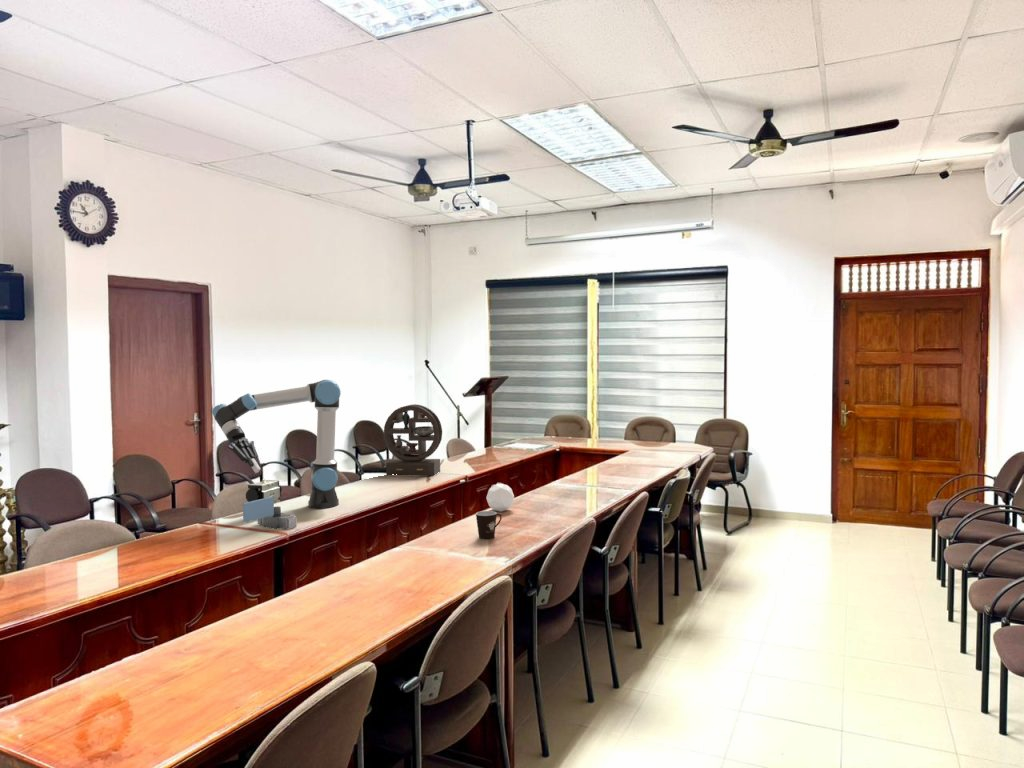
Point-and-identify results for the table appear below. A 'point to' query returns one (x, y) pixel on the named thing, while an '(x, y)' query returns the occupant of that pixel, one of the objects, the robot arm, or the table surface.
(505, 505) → the geodesic sphere
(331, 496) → the robot arm
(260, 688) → the table surface
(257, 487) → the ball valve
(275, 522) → the valve body
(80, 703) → the table surface
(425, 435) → the round curio shelf
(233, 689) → the table surface
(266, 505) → the lever
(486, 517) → the coffee mug
